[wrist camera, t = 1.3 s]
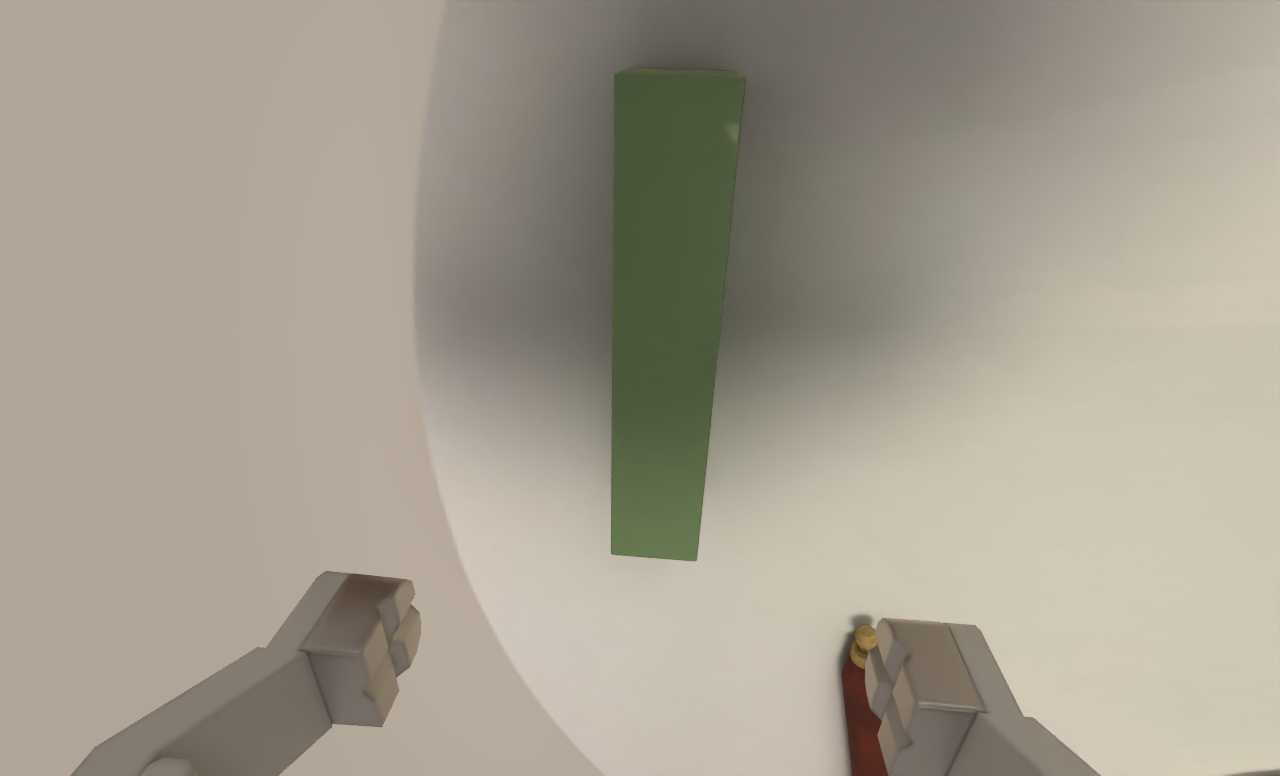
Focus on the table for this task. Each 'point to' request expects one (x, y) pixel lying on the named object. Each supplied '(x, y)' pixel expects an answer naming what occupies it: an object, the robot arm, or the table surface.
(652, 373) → the bar
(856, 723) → the gavel
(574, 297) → the table surface
